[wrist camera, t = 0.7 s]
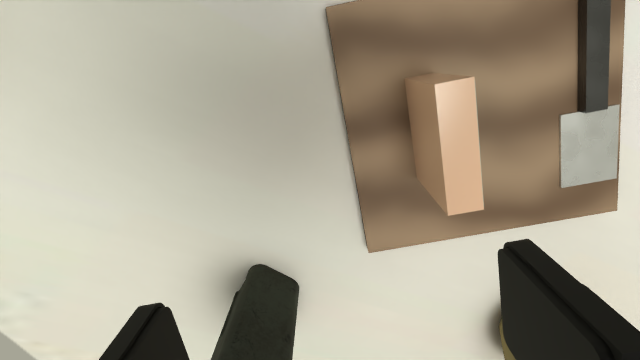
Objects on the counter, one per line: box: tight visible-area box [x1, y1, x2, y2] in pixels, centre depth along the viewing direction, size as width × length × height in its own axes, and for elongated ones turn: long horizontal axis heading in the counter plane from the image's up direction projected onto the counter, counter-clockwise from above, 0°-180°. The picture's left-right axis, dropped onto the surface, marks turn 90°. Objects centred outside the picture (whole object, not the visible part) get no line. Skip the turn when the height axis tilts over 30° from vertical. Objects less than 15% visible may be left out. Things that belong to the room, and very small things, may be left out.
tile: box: [405, 73, 484, 216], centre depth 26 cm, size 8×2×8 cm, turn 11°
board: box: [326, 0, 625, 253], centre depth 30 cm, size 20×21×1 cm
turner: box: [559, 0, 620, 188], centre depth 28 cm, size 17×4×1 cm, turn 11°
